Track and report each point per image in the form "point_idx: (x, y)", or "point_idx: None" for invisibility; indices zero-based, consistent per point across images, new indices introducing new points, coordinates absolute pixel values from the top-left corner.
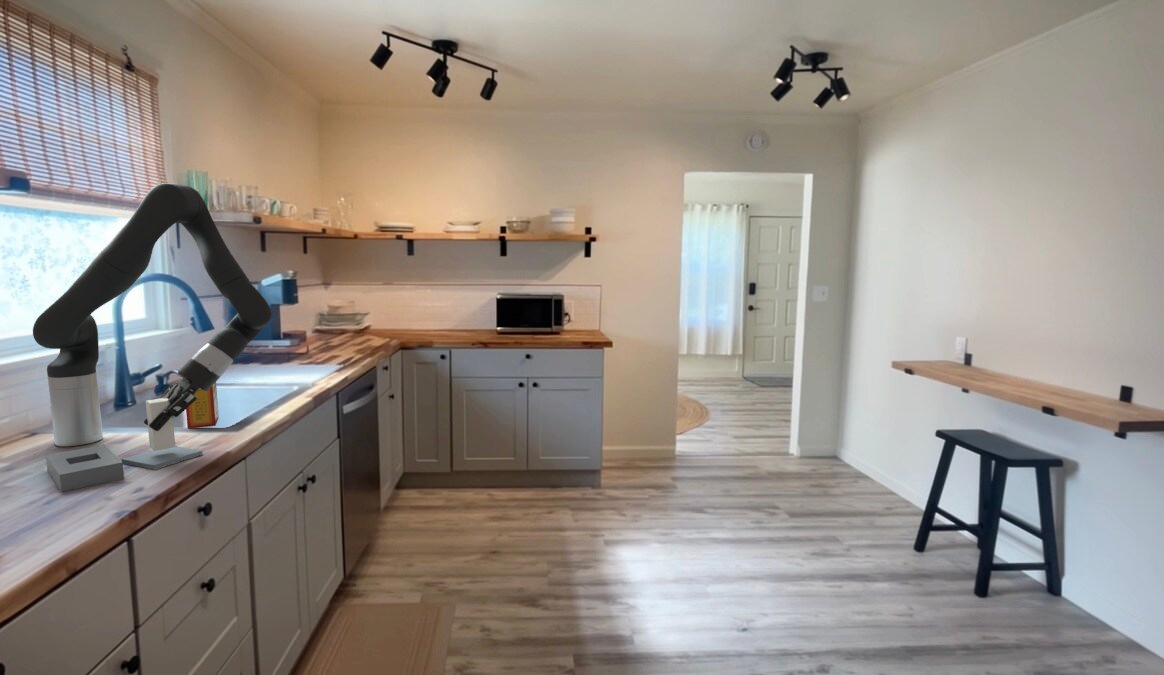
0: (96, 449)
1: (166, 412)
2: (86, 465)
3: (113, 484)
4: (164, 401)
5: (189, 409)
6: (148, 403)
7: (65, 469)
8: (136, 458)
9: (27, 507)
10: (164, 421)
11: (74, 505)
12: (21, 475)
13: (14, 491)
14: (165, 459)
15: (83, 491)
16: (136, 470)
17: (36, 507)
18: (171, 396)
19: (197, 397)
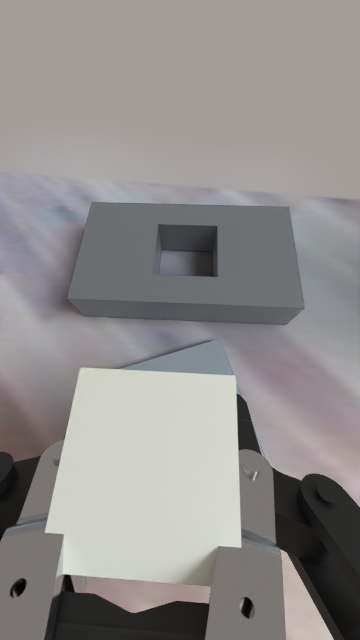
0: (258, 284)
1: (37, 460)
2: (115, 242)
3: (63, 293)
4: (54, 492)
5: None
6: (133, 371)
7: (121, 213)
8: (193, 366)
9: (68, 191)
10: None
11: (7, 231)
12: (274, 205)
13: (175, 189)
14: None
15: (71, 251)
16: (124, 350)
17: (55, 198)
18: (23, 618)
19: None
